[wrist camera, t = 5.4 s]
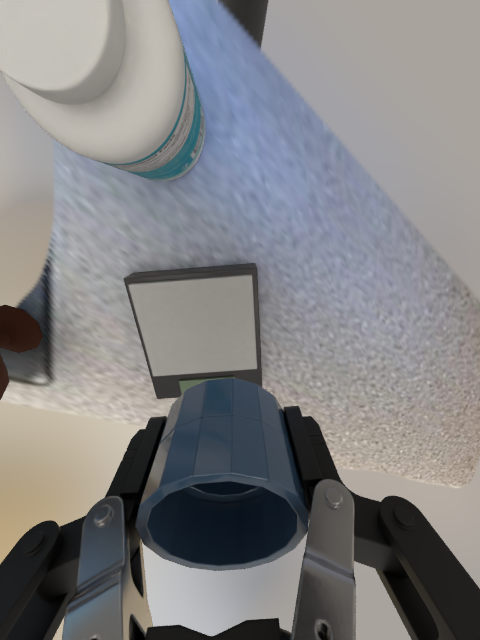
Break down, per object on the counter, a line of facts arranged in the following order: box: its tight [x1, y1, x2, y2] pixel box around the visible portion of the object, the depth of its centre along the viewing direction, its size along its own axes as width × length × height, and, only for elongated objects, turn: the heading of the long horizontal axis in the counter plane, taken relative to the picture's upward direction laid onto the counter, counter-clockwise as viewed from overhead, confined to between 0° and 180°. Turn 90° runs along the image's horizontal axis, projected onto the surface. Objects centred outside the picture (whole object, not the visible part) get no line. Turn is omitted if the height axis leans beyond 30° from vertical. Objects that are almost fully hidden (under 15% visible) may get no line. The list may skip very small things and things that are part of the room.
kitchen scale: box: [124, 263, 262, 399], centre depth 25 cm, size 14×12×3 cm
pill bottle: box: [0, 0, 205, 181], centre depth 13 cm, size 8×7×14 cm
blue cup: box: [135, 378, 309, 571], centre depth 10 cm, size 6×6×5 cm
